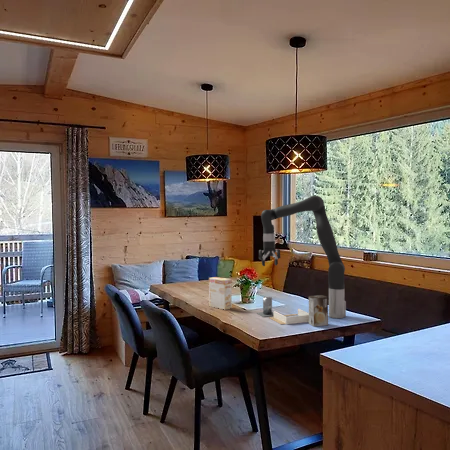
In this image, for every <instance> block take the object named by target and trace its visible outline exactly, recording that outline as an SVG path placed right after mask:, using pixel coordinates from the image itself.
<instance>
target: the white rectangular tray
mask: <svg viewBox="0 0 450 450" xmlns="http://www.w3.org/2000/svg"><path fill="white" fill-rule="evenodd" d="M273 313H274V316H272V317H268V319H270V320H272V321H274V322H276V323H278V324H280V325H293V324H300V323H302V324H303V323H309V311H308V312H307V311H305V310H303V309H301V308H297V313H293V314H281V313H279V312H277V311H275V310H273Z"/></svg>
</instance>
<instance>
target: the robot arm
mask: <svg viewBox="0 0 450 450" xmlns="http://www.w3.org/2000/svg"><path fill="white" fill-rule="evenodd" d="M304 212H312V213H313V215H314V219H315V223H316V224H315V227H316V234H317V237H318V241H319V244H320V245H321V248H322V249H323V251H324V253H325V255H326V259H327V260H328V261H327V262H328V265H329V266H328V270H327V271H328V273H327V274H328V275H327V276H328V277H327V279H328V318H333V319H344V318H346V317H347V301H346V300H345V287H346V286H345V271H346V267H345V264H344V263H343V261H342V258H341V255H340V254H339V250H338V246H337V242H336V238H335V234H334V232H333V229H332V226H331V223H330V221H329V217H328V215H327V211H326V207H325V202H324V200H323V197H321V196H319V195H312V196H309V197H307V198H305V199H303V200H301V201H298V202H294V203H289V204H285V205H280V206H278V207H275V208H271V209H264V210H263V211H262V212H261V215H260V219H261V223H262V227H263V228H262V229H263V231H262V232H263V234H262V235H263V236H262V241H263V244H262V245H263V250H262V249H259V250H258V259H259V260H261V266H262V267H265V266H266V258H268V257H273V258H274V266H278V264H279V263H278V261H279V259H281V250H280V249H279V248H276V237H275V236H276V235H275V226H274V224H273V222H272V221H274V220H276V219H277V220H278V219H280V218H284V217H285V218H286V217H289V216H292V215H294V214H295V215H296V214H298V213H304Z"/></svg>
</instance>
